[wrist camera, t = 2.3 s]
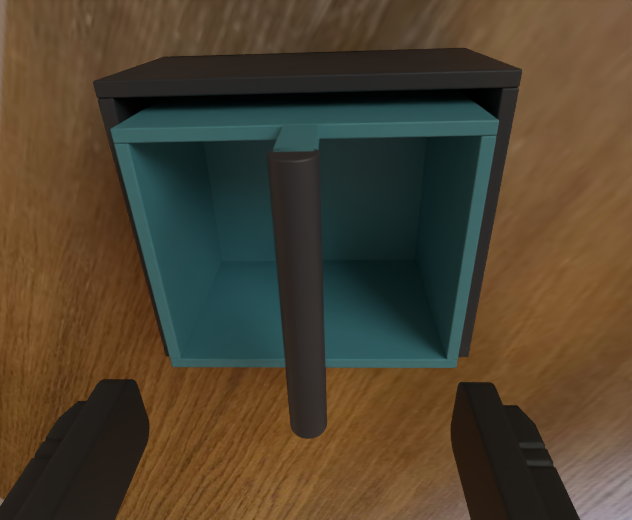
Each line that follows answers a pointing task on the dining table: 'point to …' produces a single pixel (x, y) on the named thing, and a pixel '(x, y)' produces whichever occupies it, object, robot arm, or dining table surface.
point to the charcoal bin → (318, 77)
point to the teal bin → (310, 229)
